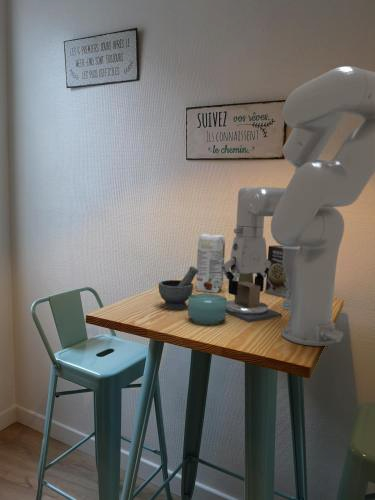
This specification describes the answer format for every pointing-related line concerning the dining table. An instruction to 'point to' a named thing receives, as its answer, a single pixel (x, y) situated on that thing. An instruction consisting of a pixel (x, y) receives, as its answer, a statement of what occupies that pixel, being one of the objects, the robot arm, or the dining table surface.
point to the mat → (256, 316)
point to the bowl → (207, 308)
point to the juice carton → (210, 263)
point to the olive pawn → (246, 278)
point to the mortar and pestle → (177, 290)
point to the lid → (247, 300)
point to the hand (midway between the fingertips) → (245, 292)
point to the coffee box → (277, 273)
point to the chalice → (288, 270)
